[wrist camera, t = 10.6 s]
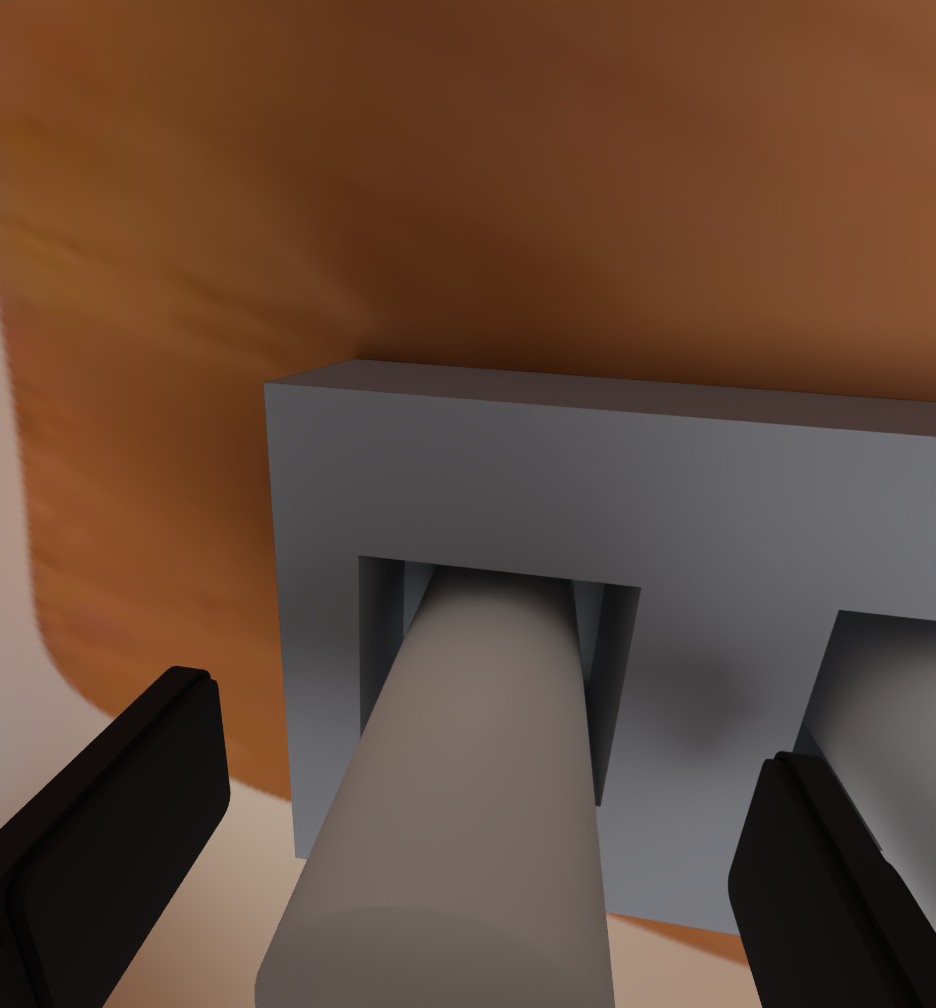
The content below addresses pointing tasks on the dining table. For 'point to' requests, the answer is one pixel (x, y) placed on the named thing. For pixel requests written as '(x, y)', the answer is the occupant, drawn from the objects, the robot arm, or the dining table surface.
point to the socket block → (630, 590)
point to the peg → (460, 822)
